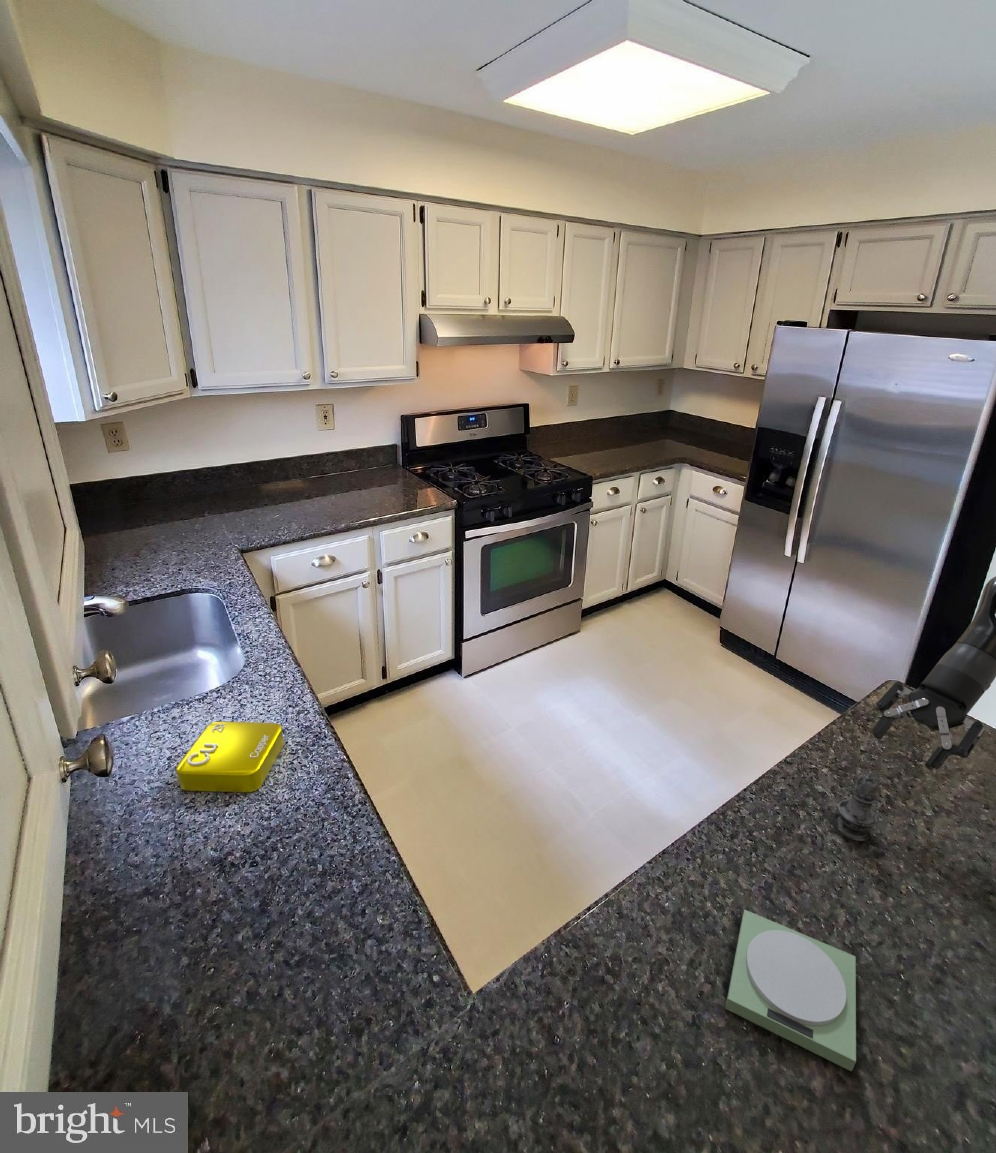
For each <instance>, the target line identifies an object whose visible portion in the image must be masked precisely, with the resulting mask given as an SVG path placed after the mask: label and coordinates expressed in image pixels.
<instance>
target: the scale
mask: <svg viewBox="0 0 996 1153" xmlns="http://www.w3.org/2000/svg"><path fill="white" fill-rule="evenodd" d="M856 960H857V957H856V955H853V954H851V953H849V952H847V951H844V950H842V949H839V948H837V947H834V946H832V945H830V944H827V943H825V942H823V941H820V940H818V939H816V938H813V937H811V936H808V935H807V934H803V933H801V932H799V931H797V930H795V929H792V928H790V927H788V926H785V925H783V924H780V923H777V922H775V921H773V920H770V919H768V918H766V917H764V916H761V915H759V914H756V913H755V912H754V913H753V912H752V911H749V910H747V909H744V910H743V913H742V916H741V922H740V926H739V933H738V938H737V944H736V948H735V954H734V959H733V965H732V969H731V970H732V971H731V975H730V981H729V985H728V991H727V997H726V1002H725V1007H724V1008H725V1010H727V1011H728V1012H730V1013H733V1014H735V1015H736V1016H738V1017H741V1018H743V1019H745V1020H747V1021H749V1022H751V1023H753V1024H755V1025H757V1026H759V1027H760V1028H763V1029H765V1030H767V1031H769V1032H771V1033H773V1034H775V1035H777V1036H779V1037H782V1038H783V1039H785V1040H788V1041H790V1042H791V1043H793V1044H796V1045H797V1046H799V1047H800V1048H801V1047H802V1048H803V1049H805V1050H807V1051H809V1052H811V1053H813V1054H815V1055H818V1056H819V1057H822V1058H823V1059H825V1060H827V1061H829V1062H831V1063H833V1064H835V1065H837V1066H840V1067H841V1068H843V1069H845V1070H846V1071H850V1072H853V1070H854V1068H855V1065H856V1063H857V966H856V965H857V961H856Z"/></svg>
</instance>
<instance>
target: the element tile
mask: <svg viewBox="0 0 996 1153" xmlns="http://www.w3.org/2000/svg"><path fill="white" fill-rule="evenodd" d="M284 745H285V739H284V734H283V727H282V725H281V724H280V723H276V722H254V721H253V722H249V721H214V722H212V723H210V724H209V725H207V726H206V727H205V728H204V730H203V731H202V732H201V734H200V735H199V736H198V738H197V739H196V740H195V741H194V743H193V744H192V746H190V748H189V750H188V751H187V752H186V754H185V755H184V756H183V758H182V759H181V760H180V761H179V763H178V764H177V765H176V768H175V773H176V776H177V781H178V784H179V787H180V789H181V790H183V791H185V792H213V793H217V792H218V793H252V792H255V791H258V790H260V788H262V786H263V785H264V783H265V780H266V779H267V777H268V775H269V773H270V771H271V769H272V768H273V766H274V764H275V762H276V760H277V758H278V756H279V755H280V753H281V752H282V749H283V747H284Z"/></svg>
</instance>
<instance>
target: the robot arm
mask: <svg viewBox="0 0 996 1153" xmlns="http://www.w3.org/2000/svg"><path fill="white" fill-rule="evenodd" d="M995 680H996V576H993V577H992V578H991V579H989V580H988V582H986V584H985V586H984V588H983V590H982V593H981V596H980V599H979V603H978V607H977V609H976V612H975V614H974V616H973V618H972V620H971V621H970V623H969V625H968V627H967V628H966V630H965V631H964V632H963V633H962V634H961V636H960V637H959V638H958V639H957V641H956V642H955V644H953V646H952V647H950V648H949V649H948V650H947V651H946V652H945V653H944V654H943V656H942V657H941V658H940V659H939V661H938V662H937V663H936V664H935V666H934V667H933V668H932V670H931V671H930V672H929V673H928V674H927V676H926V677H925V678H924V680H923V681H921V683H920V685H919V686H918V687H917V688H915V689H914V690H911V689H909V688H908V687H906V686H904V685H903V683H902V682H901V681H896V682H894V683H893V684H892V686H890V688H889V689H888V690H887V691H886V692H885V693H884V694H883V696H881V698H879V700H878V701H876V704H875V706H876V709H877V710H878V711H879V713H881V715H882V716H881V717H880V718H879V720H878V721H877V722H876V724H875V725H874V726H873V727H872V731H873V735H872V736H874V738H875V739H876V740H879V741H881V740H882V739H883V738H884V736H885V735H886V734H887V732H888V731H889V730H890V728H891V727H892V726H893V725H894V723H893V722H898V721H901V720H904V721H905V720H906V721H907V720H911V719H913V720H915V722H917V723H919V724H922V725H925V726H926V727H927V728H929V729H930V730H932V731H933V732H936V731H937V732H939V735H940V740H941V746H938V747H937V748H936V749H935V750H934V751H933V753H932V754H931V755H930V756H929V757H928V759H927V760H926V762H925V763H924V766H925V768H926V769H928V770H929V771H933V770H934V769H935V770H938V769H940V768H942V766H943V765H944V763H945V762H946V761H947V759H948V758H949V757H950V756H956V757H957V756H958V757H960V758H962V759H967V758H969V756H970V755H971V753H972V751H973V750H974V749H975V747H976V746H977V744H978V743H979V741H980V739H981V738H982V737H983V735H984V734H985V732H986V731H985V730H986V729H985V727H984V724H983V722H982V721H979V720H976V721H975V720H972V719H969V718H968V717H967V716H968V714H969V712H971V710H972V709H973V707H974V706H975V705H976V703H977V702H978V701H979V700H980V699H981V697H983V695H984V694H985V693H986V691H988V690H989V689H990V687H991V686H992V684H993V683H994V681H995ZM906 697H908V701H909V702H908V703H904V704H900V705H897V707H893V706H894V705H895V704H896V703H897V702H898V700H899V699H900V700H902V699H905V698H906ZM892 707H893V708H892ZM963 725H964V731H965V735H964V736H963V738H962V739H961V741H960V742H959V744H958V745H956V744H954V743H953V736H952V730H951V729H953V728H957V727H961V726H963Z"/></svg>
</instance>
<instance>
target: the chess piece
mask: <svg viewBox="0 0 996 1153" xmlns="http://www.w3.org/2000/svg"><path fill="white" fill-rule="evenodd" d="M878 787H879V783H878V781H877V779H876V778H874V777H873V774H872V772H870V773H867V774H861V775H859V776H858V778H857V779H856V783H855V786H854V787H853V788H851V789H850V794H851V797H850V799H844V800H843V799H842V800H841V801H840V802H838V804H837V810H838V817H836V818H835V821H834V826H835V828H836V829H837V831H838V832H839V833H840V834H841V835H843V836H845V837H846V838H847V839H850V840H853V841H857V842H858V841H859V842H863V841H864V842H865V841H867V840H869V839H870V838H871V832H870V829H872V828H873V827H874V826H876V825H877V823H878V821H879V820H878V815H877V814H876V812H875V811H874V810H873V809H872V806H873V804H874V803H876V802H877V797H876V796H875V795H876V792H877V789H878Z"/></svg>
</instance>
